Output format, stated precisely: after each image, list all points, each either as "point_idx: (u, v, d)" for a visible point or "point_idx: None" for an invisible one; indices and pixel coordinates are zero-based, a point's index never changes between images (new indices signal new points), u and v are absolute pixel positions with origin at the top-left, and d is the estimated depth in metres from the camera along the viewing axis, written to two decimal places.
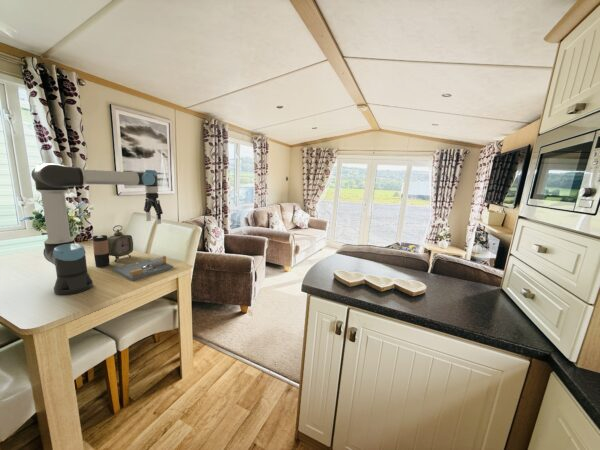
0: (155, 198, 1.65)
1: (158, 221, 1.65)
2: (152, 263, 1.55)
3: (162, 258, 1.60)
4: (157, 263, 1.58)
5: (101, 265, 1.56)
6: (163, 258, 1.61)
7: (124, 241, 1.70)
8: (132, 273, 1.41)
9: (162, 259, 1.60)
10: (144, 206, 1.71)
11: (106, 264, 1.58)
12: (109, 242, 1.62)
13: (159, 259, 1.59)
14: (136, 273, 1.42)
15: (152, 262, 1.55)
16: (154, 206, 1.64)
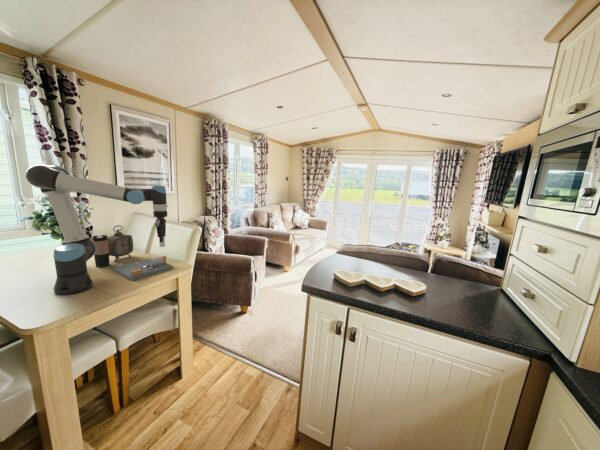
0: (159, 217, 1.46)
1: (161, 244, 1.52)
2: (152, 263, 1.55)
3: (162, 258, 1.60)
4: (157, 263, 1.58)
5: (101, 265, 1.56)
6: (163, 258, 1.61)
7: (124, 241, 1.70)
8: (132, 273, 1.41)
9: (162, 259, 1.60)
10: None
11: (106, 264, 1.58)
12: (109, 242, 1.62)
13: (159, 259, 1.59)
14: (136, 273, 1.42)
15: (152, 262, 1.55)
16: None
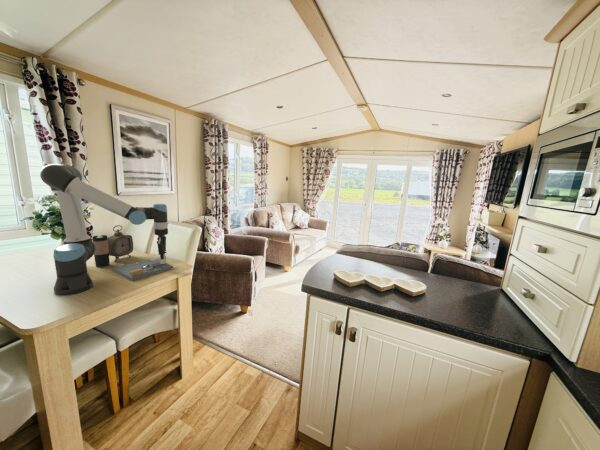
0: (160, 235, 1.49)
1: (161, 261, 1.55)
2: (152, 263, 1.55)
3: None
4: (157, 263, 1.58)
5: (101, 265, 1.56)
6: None
7: (124, 241, 1.70)
8: (132, 273, 1.41)
9: None
10: None
11: (106, 264, 1.58)
12: (109, 242, 1.62)
13: (159, 259, 1.59)
14: (136, 273, 1.42)
15: (152, 262, 1.55)
16: None
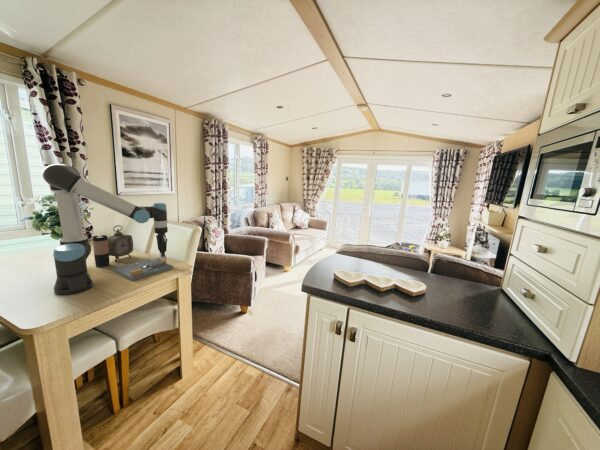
0: (163, 233, 1.54)
1: (162, 258, 1.59)
2: (152, 263, 1.55)
3: None
4: (157, 263, 1.58)
5: (101, 265, 1.56)
6: None
7: (124, 241, 1.70)
8: (132, 273, 1.41)
9: None
10: None
11: (106, 264, 1.58)
12: (109, 242, 1.62)
13: (159, 259, 1.59)
14: (136, 273, 1.42)
15: (152, 262, 1.55)
16: (161, 243, 1.55)
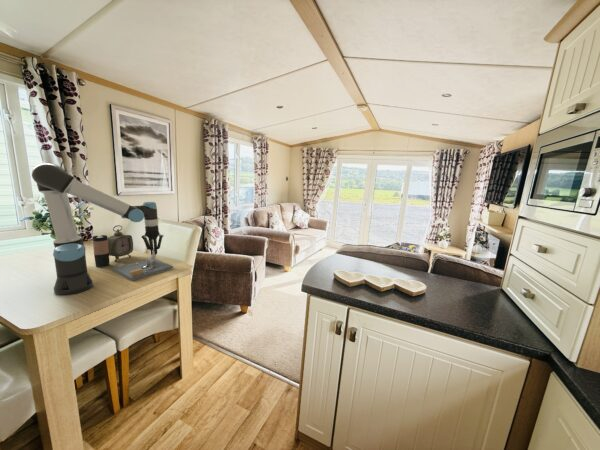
0: (158, 230, 1.59)
1: (155, 256, 1.61)
2: (150, 262, 1.56)
3: None
4: (152, 262, 1.59)
5: (101, 265, 1.56)
6: None
7: (124, 241, 1.70)
8: (132, 273, 1.41)
9: None
10: None
11: (106, 264, 1.58)
12: (109, 242, 1.62)
13: (152, 258, 1.60)
14: (136, 273, 1.42)
15: (150, 261, 1.56)
16: (155, 241, 1.59)
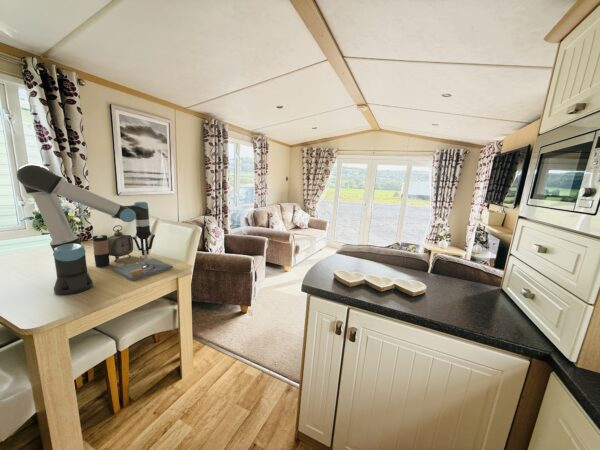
0: None
1: (146, 257, 1.60)
2: None
3: None
4: None
5: (101, 265, 1.56)
6: None
7: (124, 241, 1.70)
8: (132, 273, 1.41)
9: None
10: (137, 246, 1.54)
11: (106, 264, 1.58)
12: (109, 242, 1.62)
13: None
14: (136, 273, 1.42)
15: None
16: (147, 241, 1.58)
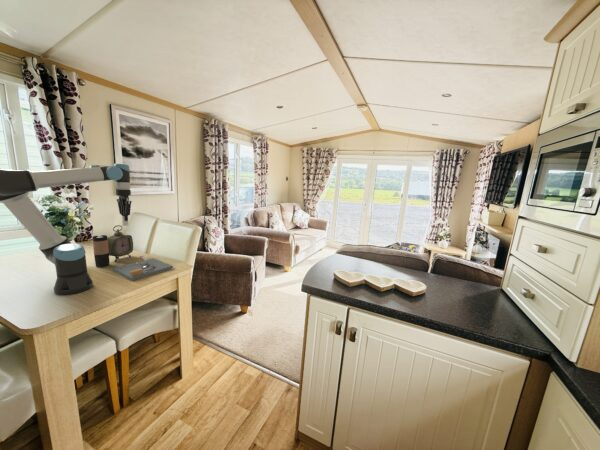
0: (127, 195, 1.49)
1: (125, 223, 1.53)
2: None
3: None
4: None
5: (101, 265, 1.56)
6: None
7: (124, 241, 1.70)
8: (132, 273, 1.41)
9: None
10: None
11: (106, 264, 1.58)
12: (109, 242, 1.62)
13: None
14: (136, 273, 1.42)
15: None
16: (123, 206, 1.50)
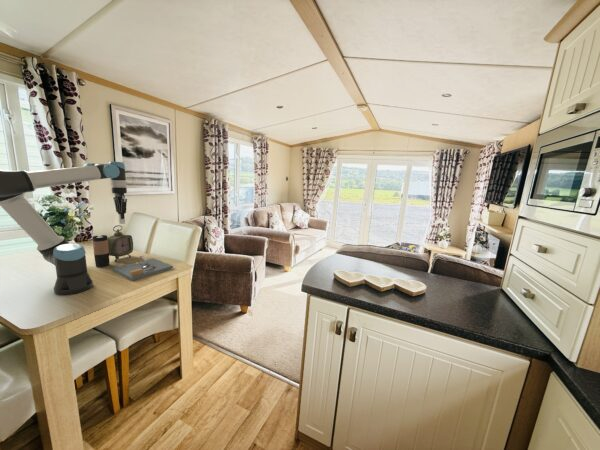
0: (122, 193, 1.48)
1: (121, 221, 1.52)
2: None
3: None
4: None
5: (101, 265, 1.56)
6: None
7: (124, 241, 1.70)
8: (132, 273, 1.41)
9: None
10: None
11: (106, 264, 1.58)
12: (109, 242, 1.62)
13: None
14: (136, 273, 1.42)
15: None
16: (119, 204, 1.49)
